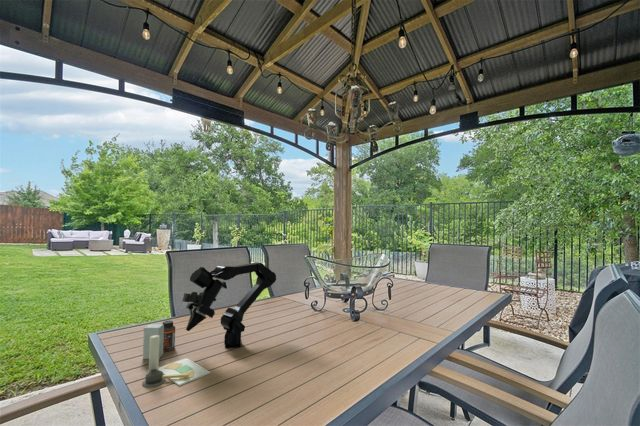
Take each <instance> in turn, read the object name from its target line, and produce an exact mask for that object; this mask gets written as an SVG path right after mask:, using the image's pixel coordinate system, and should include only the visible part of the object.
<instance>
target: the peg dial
mask: <svg viewBox="0 0 640 426" xmlns="http://www.w3.org/2000/svg"><path fill="white" fill-rule="evenodd" d="M159 337H160V336H159V335H154V336H151V337H150V345H149V359H148V372H147V373H146V374H145V379H144V380H145V382H146V383H147V384H154V383H157V382H160V381H161V380H162V379H165V378H166V379H168V378H180V377H183V378H185V377H189V374H190V373H184V374H173V375H163V372H162V371H158V368H159V361H160V358H159Z"/></svg>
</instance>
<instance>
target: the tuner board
mask: <svg viewBox="0 0 640 426" xmlns="http://www.w3.org/2000/svg"><path fill="white" fill-rule="evenodd" d="M158 371H162V372H163V375H173V374H184V373H190V374H189V377H185V378H183V377H180V378H165V379H162V380H161V381H160V382H157V383H154V384H147V383H146V382H145V379H144V380H143V381H142V383H141V386H142V387H144V388H153V387H158V386H160V385H162V384H164V383H165V381H167V380H166V379H169V380H170V381H171V382H173V383H174V384H175V385H177V386H178V387H180V386H183V385H185V384H188V383H190V382H193V381H195V380H198V379H200V378H203V377H205V376H207V375H210V374H211V371H209V370H208V369H206V368H204V367H203V366H201V365H199V364H197V363H196V362H194V361H193V360H190V359H189V358H187V357H185V358H181V359H179V360H175V361H173V362H170V363H168V364H165V365H161V366H158Z"/></svg>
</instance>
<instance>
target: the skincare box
mask: <svg viewBox="0 0 640 426" xmlns="http://www.w3.org/2000/svg"><path fill="white" fill-rule="evenodd" d="M154 335H159V336H160V337H159V359H160V358H161V357H162V356H163V355H164V351H163V342H164V324H163V323H162V324H148V325H147V326H145V327H143V343H142V344H143V346H142V359H143V360H149V345H150V337H151V336H154Z"/></svg>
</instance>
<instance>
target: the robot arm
mask: <svg viewBox="0 0 640 426" xmlns="http://www.w3.org/2000/svg"><path fill="white" fill-rule="evenodd" d="M249 273H255V275H256V276H257V277H256V281H255V284H254V285H253V286H252V287H251V288H250V290H248V292H247V293H245V295H244V296H243V297H242V299H240V301H239V302H238V303H237V304H236V306H235V307H231V306H230V307H227V309H226V310H225V311H224V312H223V313H222V316H220V325H221V326H222V328H223V330H225V333H224V342H223V343H224V344H223V345H224V348H226V349H229V348H241V346H242V342H243V341H242V333H243V332H245V328H246V326H245V324H243V323H242V322H243V319H244V315H245V313H246V312H247V311H248V309H249V308H250V307H251V306H252V304H253V303H254V302H255V301H256V300H257V298H258V297H259V296H260V295H261V294H262V293H263V291H264V290H265V289H269V288H270V287H271V286H273V284H275V283H276V281H277V274H276V273H275V272H274V271H272V270H271V269H270V268H269V267H267V266H265V265H264V263H263V262H259V261H254V262H250V263H244V264H238V265H225V264H224V265H222V264H220V265H216V267H215V268H214V269H212V270H209V271H208V270H207V269H206V268H205V267H204V266H199V268H198V269H195V271H194V272H192V273H191V275H190V276H189V280H190V282H192V283H193V284H194V285H196V286H198V287H199V288H201V289H203V291H200V292H199V293H198V292H196V291H191V292H190V293H183V297H182V302H183V303H184V302H185V303H187V305H186V307H185V308H186V309H188V311H189V315H190V316H189V319H188V323H187V325H186V329H185V330H186V331H187V332H190V331H191V330H192V329H193V328H195V327H196V326H198V325H199V324H200V323H201V322H203V321H204V320H205V319H207V317H206V316H208V317H209V318H211V319H212V318H214V316H215V314H216V312H215V309H213V308H211V307H212V305H213V303H214V302H216V301H217V296H218V295H219V293H220V291H221V289H226V290H227V289H228V286H227V282H226V281H228V280H231V279H234V278H235V277H236V276H240V275H244V274H249ZM221 280H222V281H221Z"/></svg>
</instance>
